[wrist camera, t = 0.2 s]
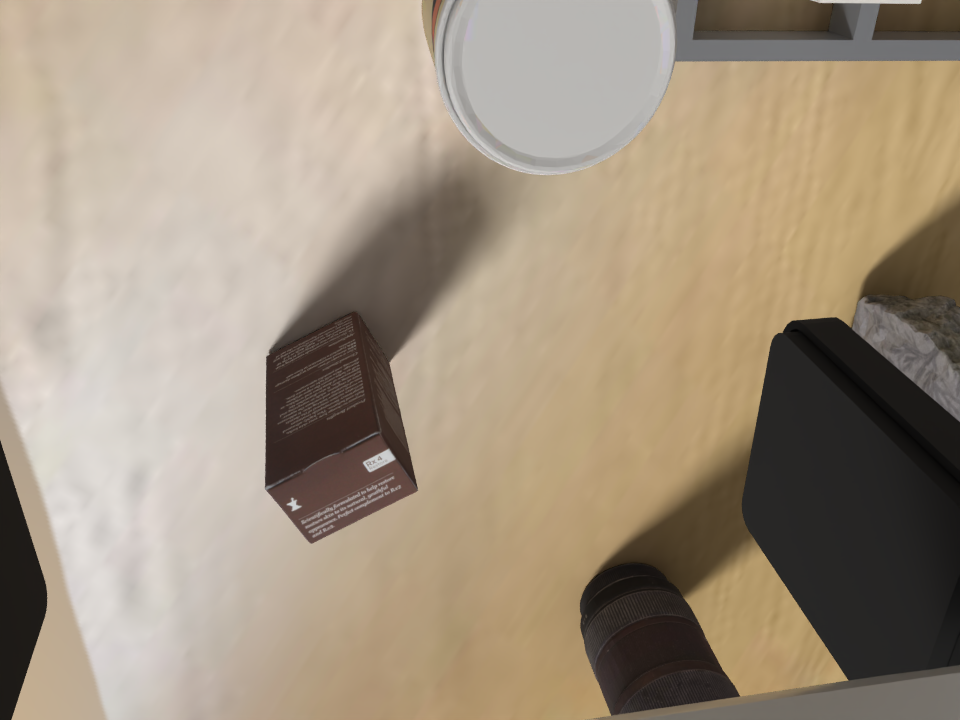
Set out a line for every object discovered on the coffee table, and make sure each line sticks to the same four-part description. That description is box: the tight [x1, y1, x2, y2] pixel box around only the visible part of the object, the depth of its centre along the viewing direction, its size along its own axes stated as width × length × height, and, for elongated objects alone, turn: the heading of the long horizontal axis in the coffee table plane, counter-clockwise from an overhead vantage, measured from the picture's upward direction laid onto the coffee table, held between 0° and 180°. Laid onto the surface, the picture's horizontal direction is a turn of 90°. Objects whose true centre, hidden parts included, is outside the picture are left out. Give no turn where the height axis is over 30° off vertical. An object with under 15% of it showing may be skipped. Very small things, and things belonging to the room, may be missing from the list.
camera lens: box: [580, 563, 740, 716], centre depth 59 cm, size 8×8×15 cm
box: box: [265, 312, 418, 544], centre depth 46 cm, size 6×4×12 cm
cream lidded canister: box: [422, 0, 677, 175], centre depth 38 cm, size 9×9×12 cm
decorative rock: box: [852, 295, 960, 422], centre depth 53 cm, size 16×7×15 cm, turn 179°
